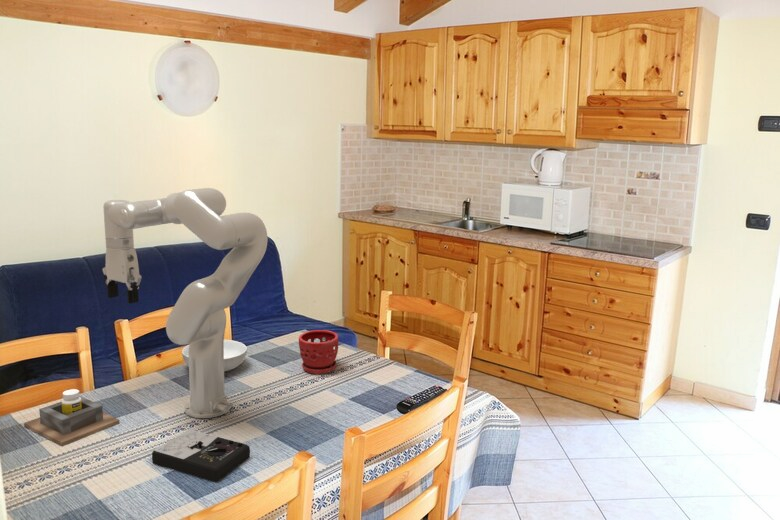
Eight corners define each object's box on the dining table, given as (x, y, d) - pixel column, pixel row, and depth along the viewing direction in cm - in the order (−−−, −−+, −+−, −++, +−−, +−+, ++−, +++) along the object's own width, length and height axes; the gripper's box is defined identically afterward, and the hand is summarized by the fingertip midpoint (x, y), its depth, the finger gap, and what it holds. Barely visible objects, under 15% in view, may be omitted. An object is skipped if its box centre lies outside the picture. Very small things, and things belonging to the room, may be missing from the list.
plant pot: (304, 361, 222) (304, 328, 219) (341, 364, 220) (342, 330, 218) (294, 375, 209) (293, 340, 207) (333, 378, 207) (333, 343, 205)
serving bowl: (238, 381, 203) (238, 360, 202) (173, 379, 203) (172, 358, 202) (253, 358, 223) (253, 339, 222) (194, 356, 224) (193, 337, 222)
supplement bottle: (74, 426, 167) (72, 396, 166) (59, 424, 168) (56, 394, 167) (86, 418, 172) (84, 389, 170) (71, 416, 173) (69, 387, 171)
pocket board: (119, 423, 172) (118, 405, 171) (61, 446, 159) (60, 427, 158) (81, 406, 182) (80, 389, 181) (24, 426, 169) (22, 408, 168)
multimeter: (216, 484, 145) (215, 464, 144) (151, 464, 152) (150, 445, 151) (250, 458, 157) (250, 439, 156) (189, 441, 164) (188, 423, 163)
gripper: (149, 244, 183) (152, 302, 187) (113, 237, 193) (117, 292, 196) (126, 248, 177) (129, 307, 181) (90, 241, 187) (94, 297, 190)
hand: (123, 299), depth 188 cm, fingers open, 9 cm apart
